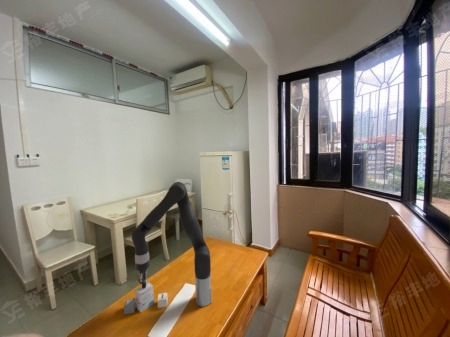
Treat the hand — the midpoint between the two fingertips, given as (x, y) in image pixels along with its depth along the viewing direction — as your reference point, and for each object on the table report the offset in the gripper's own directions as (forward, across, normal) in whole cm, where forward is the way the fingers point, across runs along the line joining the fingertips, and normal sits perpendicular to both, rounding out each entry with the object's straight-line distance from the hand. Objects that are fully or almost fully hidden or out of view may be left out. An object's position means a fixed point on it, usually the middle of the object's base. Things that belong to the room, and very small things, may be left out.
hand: (144, 287), depth 110 cm
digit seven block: (+12, -1, +8) cm, 15 cm away
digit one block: (+12, -1, -10) cm, 16 cm away
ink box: (+12, 0, 0) cm, 12 cm away
